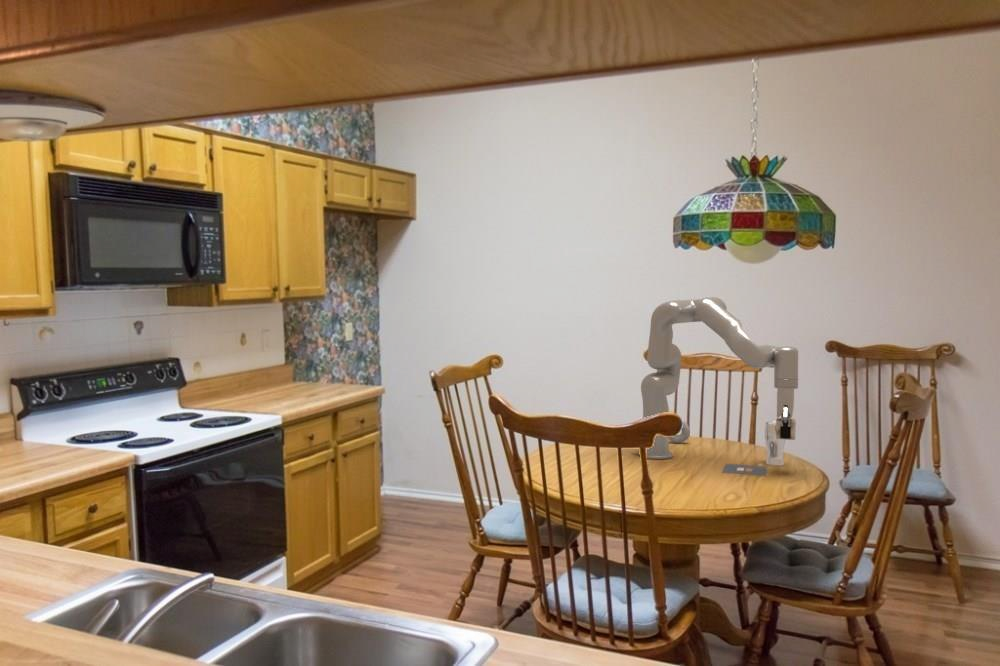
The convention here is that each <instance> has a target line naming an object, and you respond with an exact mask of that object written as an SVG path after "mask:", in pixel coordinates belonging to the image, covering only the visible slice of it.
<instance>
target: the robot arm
mask: <svg viewBox="0 0 1000 666" xmlns="http://www.w3.org/2000/svg"><path fill="white" fill-rule="evenodd" d="M697 322H698V323H699V322H702V323H703V324H704V325H706V326H707V327H708V328H709V329H711V331H713V332H714V333H715V334H717V336H719V337H720V338H721V339H722V340H723V341H724V342H725V344H726V345H727V347H728V348H729V349H730V350H731V352H732V353H733V354H734V355H735V356H737V357H738V358H739V359H740V360H741V361H742V362H744V363H745V364H746V365H747V366H749V367H751V368H753V369H755V370H757V369H758V370H761V369H763V368H769V367H774V369H773V372H774V373H773V375H774V376H773V377H774V378H773V380H774V382H773V384H774V385H773V388H774V389H777V391H776V418H779V417H780V418H781V426H780V437H781V438H787V439H786V440H788V439H790V438H791V427H790V419H793V415H794V407H795V406H794V405H795V390H797V389H799V350H798V348H796V347H794V346H775V345H768V344H763V345H759V344H757V343H756V342H754V341H753V340H752V339H751V338H749V337H748V335H746V333H745V332H744V330H743V327H742V326H743V325H742V322H741V321H740V319H738V318H737V317H736V316H734V315H733V314H732V313H731V312H730V311H729V310H727V305H726V303H725V301H724V300H722V298H721V299H720V298H719V297H713V296H712V297H703V298H700V299H699V298H698V299H685V300H679V299H676V300H670V301H666V302H663V303H661V304H659V305H658V306H657V307H656V308H655V309H654V310H653V313H652V314H651V318H650V327H649V328H650V330H649V339H648V347H647V354H646V355H647V356H646V357H647V358H646V359H647V360H646V362H647V364H648V366H649V367H650V368H651V369H654V370H656V372H651V373H648V374H647V375H645V376H644V378H643V379H642V380H641V384H640V392H641V398H642V419H643V418H644V417H647V416H651V415H655V414H658V413H662V412H669V413H670V408H669V402H668V398H667V397H668V396H670V395H673V394H674V393H675V392H677V390H678V388H679V384H680V377H681V376H680V375H681V369H682V368H681V367H682V352H681V350H680V348H679V347H678V346H677V344H675V343H673V338H674V337H673V336H674V330H673V325H675V324H686V323H697ZM787 419H788V420H787ZM669 446H670V440H669V437H663V436H656V438H655V442H654V446H653V447H652V448H649V449H647V457H648V458H647V459H651V460H667V459H671V458H673V457H674V453H673V452H672V451H670V449H669V448H670V447H669Z"/></svg>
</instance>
